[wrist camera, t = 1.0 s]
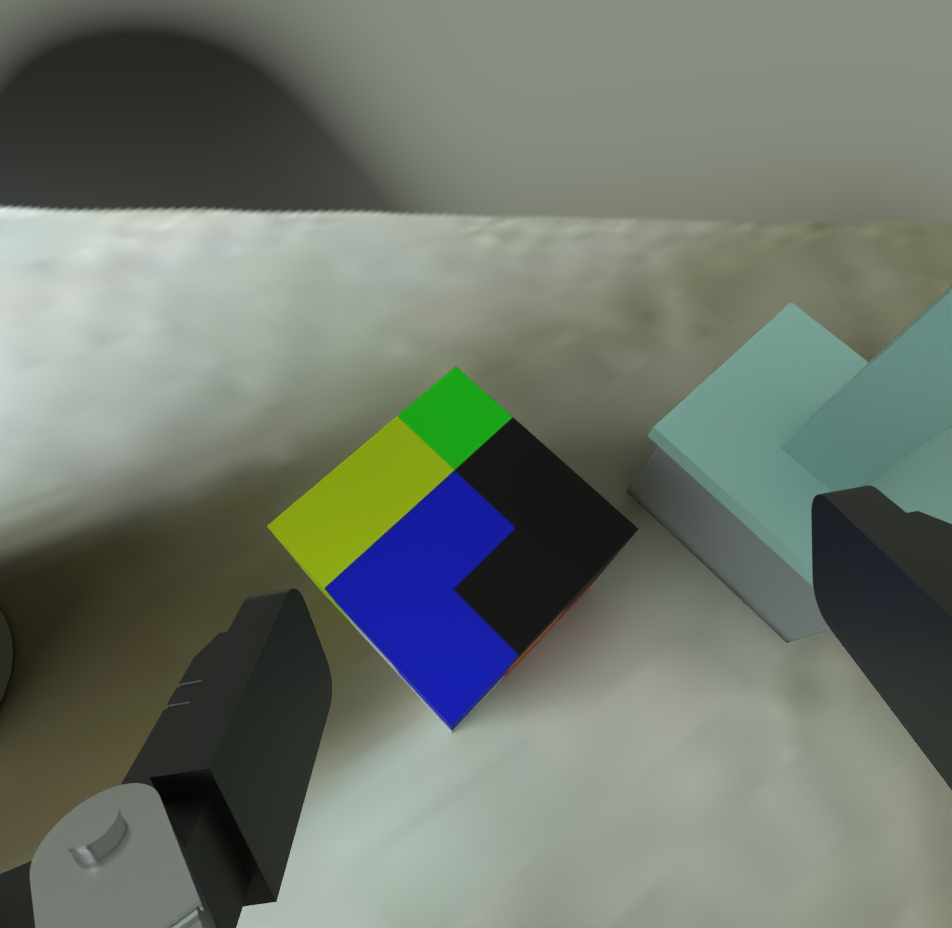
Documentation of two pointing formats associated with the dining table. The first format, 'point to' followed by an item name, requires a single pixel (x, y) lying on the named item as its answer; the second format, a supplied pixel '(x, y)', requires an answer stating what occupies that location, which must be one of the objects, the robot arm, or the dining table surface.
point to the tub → (728, 548)
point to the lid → (820, 425)
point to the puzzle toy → (452, 543)
